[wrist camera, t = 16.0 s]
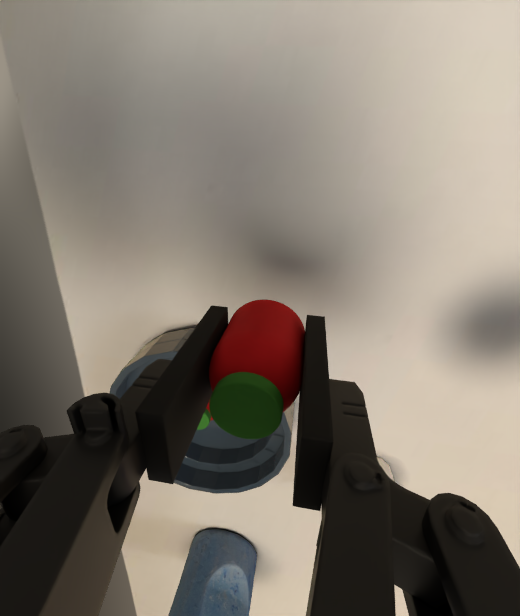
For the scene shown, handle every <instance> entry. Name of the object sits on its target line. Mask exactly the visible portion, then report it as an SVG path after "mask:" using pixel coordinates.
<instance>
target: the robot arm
mask: <svg viewBox="0 0 520 616" xmlns="http://www.w3.org/2000/svg"><path fill="white" fill-rule="evenodd" d="M227 326H228V307H220V306H211V307H210V308H209V310H208V311H207V312H206V314H205V315H204V317H203V318H202V319H201V321H200V322H199V324H198V325H197V326H196V328H195V329H194V331H193V332H192V333H191V335H190V336H189V337H188V339H187V340H186V342H185V343H184V344H183V346H182V347H181V349H180V350H179V351H178V353H177V354H176V355H175V357H174V358H173V360H165V359H157V360H156V361H154V362H153V363H151V364H150V365H148V366H147V367H146V368H145V369H144V370H143V372H142V373H141V374H140V375H139V378H137V379H136V380H135V381H134V382H133V384H132V386H130V387H129V389H128V390H127V391H126V392H125V393H124V395H123V396H122V397H121V398H120V399H119V398H118V397H117V396H115V395H114V394H109V393H98V394H93V395H90V396H87V397H84V398H82V399H80V400H79V401H77V402H75V403H74V404H73V405H72V406H71V407H70V408H69V409H68V410H67V414H68V416H69V419H70V422H71V425H72V428H73V431H74V434H70V435H61V436H54V437H45V438H43V435H42V433H41V430H40V429H39V428H38V427H36V426H34V425H22V426H18V427H14V428H11V429H8V430H6V431H4V432H1V433H0V505H1V506H2V508H1V509H0V616H98V615H99V612H100V609H101V606H102V603H103V600H104V597H105V595H106V592H107V589H108V585H109V583H110V580H111V577H112V574H113V570H114V568H115V565H116V562H117V559H118V557H119V554H120V551H121V548H122V545H123V542H124V539H125V536H126V533H127V530H128V527H129V524H130V521H131V518H132V516H133V513H134V510H135V507H136V504H137V501H138V498H139V494H140V484H139V480H140V478H141V476H142V475H143V473H144V471H145V469H146V468H147V473H148V478H149V480H153V481H158V482H164V483H169V484H173V482H174V480H175V478H176V476H177V473H178V471H179V469H180V467H181V464H182V462H183V460H184V457H185V455H186V453H187V451H188V448H189V446H190V444H191V441H192V439H193V437H194V435H195V432H196V430H197V428H198V426H199V423H200V421H201V419H202V416H203V414H204V412H205V410H206V407H207V405H208V403H209V401H210V398H211V395H212V393H213V391H212V388H211V385H210V380H209V366H210V361H211V357H212V355H213V352H214V350H215V348H216V346H217V344H218V342H219V341H220V339H221V337H222V335H223V333H224V331H225V329H226V328H227ZM365 406H366V405H365V400H364V396H363V393H362V391H361V390H360V389H359V387H358V386H357V385H356V383H355V382H349V381H341V380H333V379H329V372H328V358H327V343H326V329H325V317H322V316H312V315H307V320H306V329H305V341H304V360H303V376H302V385H301V389H300V396H299V412H298V429H297V445H296V461H295V477H294V494H293V506H296V507H301V508H307V509H312V510H318V511H320V508H321V503H322V520H321V525H320V530H319V535H318V540H317V545H316V546H317V549H316V555H315V562H314V568H313V574H312V581H311V587H310V593H309V600H308V606H307V612H306V616H395V592H394V584H395V585H396V586H398V587H400V588H401V589H402V590H403V593H404V597H405V601H406V605H407V609H408V613H409V616H520V568H519V566H518V564H517V562H516V560H515V559H514V557H513V555H512V553H511V552H510V550H509V548H508V546H507V544H506V543H505V541H504V539H503V537H502V535H501V534H500V532H499V530H498V528H497V527H496V526H495V524H494V523H493V522H492V520H491V519H490V517H489V516H488V515H487V514H486V513H485V512H484V511H482V510H481V509H480V508H479V507H478V506H477V505H476V504H474V503H472V502H471V501H469V500H467V499H465V498H464V497H462V496H458V495H455V494H451V493H443V494H438V495H436V496H435V497H433V498H432V499H431V500H429V499H426V498H424V497H422V496H420V495H418V494H415V493H413V492H411V491H409V490H407V489H405V488H403V487H401V486H400V485H398V484H397V483H395V482H394V481H393V480H392V479H390V478H389V476H388V475H387V474H386V473H385V471H384V470H383V468H382V467H381V466H380V464H379V462H378V459H377V456H376V451H375V447H374V442H373V438H372V433H371V428H370V424H369V419H368V414H367V410H366V407H365Z"/></svg>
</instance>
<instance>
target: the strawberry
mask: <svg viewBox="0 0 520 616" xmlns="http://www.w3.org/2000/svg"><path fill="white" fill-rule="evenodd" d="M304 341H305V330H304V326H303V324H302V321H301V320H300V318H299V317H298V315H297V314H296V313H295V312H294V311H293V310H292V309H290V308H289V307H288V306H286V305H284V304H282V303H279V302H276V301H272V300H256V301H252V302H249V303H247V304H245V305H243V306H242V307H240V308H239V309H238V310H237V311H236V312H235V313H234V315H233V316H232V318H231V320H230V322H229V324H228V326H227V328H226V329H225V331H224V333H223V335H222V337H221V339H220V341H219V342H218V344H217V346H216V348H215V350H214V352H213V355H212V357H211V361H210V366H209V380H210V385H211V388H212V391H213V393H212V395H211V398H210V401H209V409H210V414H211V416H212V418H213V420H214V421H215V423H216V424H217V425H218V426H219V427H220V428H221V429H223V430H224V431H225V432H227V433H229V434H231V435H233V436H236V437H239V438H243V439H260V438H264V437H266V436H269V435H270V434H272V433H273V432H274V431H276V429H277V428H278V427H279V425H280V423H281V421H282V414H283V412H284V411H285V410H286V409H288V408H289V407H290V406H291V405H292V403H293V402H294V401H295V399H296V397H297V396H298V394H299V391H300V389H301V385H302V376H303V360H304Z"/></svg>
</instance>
